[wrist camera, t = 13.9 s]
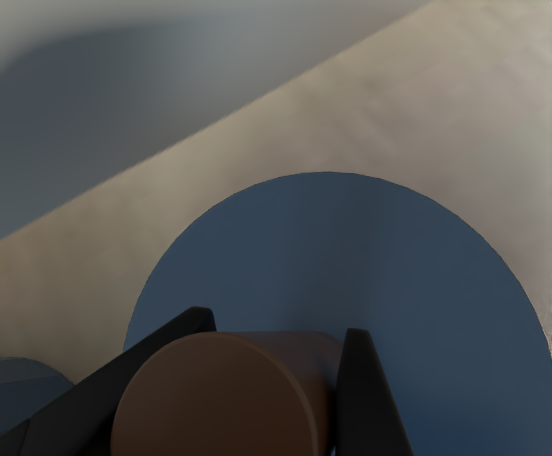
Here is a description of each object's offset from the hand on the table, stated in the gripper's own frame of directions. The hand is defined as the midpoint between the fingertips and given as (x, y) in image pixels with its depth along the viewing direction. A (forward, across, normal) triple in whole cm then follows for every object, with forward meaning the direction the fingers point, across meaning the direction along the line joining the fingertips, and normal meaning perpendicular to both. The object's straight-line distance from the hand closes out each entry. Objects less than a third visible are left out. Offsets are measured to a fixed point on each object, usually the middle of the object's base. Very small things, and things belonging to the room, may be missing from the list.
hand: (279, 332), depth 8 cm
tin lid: (+3, 0, +5) cm, 6 cm away
